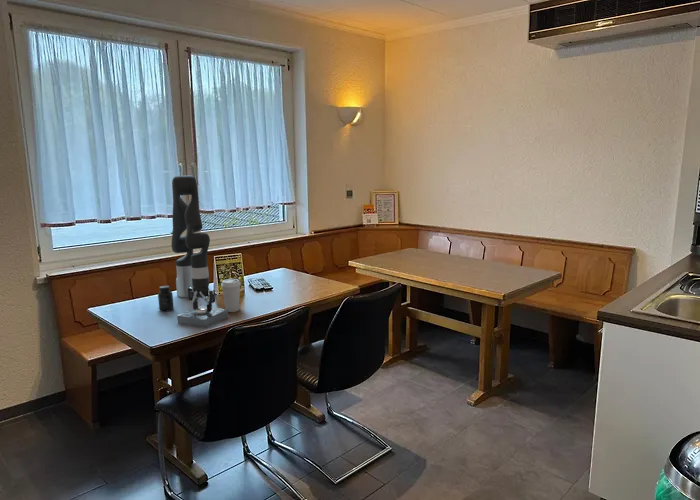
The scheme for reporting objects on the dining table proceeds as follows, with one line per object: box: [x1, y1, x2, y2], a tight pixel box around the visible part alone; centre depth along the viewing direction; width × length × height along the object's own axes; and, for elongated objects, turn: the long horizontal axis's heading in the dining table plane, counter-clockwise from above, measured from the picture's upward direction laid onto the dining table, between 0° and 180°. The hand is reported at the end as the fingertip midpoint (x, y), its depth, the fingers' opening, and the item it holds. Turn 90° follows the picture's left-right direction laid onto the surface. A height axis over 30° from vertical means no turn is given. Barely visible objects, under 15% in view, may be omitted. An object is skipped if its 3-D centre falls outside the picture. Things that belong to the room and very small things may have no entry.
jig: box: [176, 305, 229, 329], centre depth 230 cm, size 16×16×4 cm
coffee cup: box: [220, 278, 242, 313], centre depth 244 cm, size 10×10×15 cm
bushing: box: [196, 307, 209, 314], centre depth 230 cm, size 6×6×5 cm
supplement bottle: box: [157, 285, 175, 313], centre depth 246 cm, size 7×7×12 cm
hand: (202, 310), depth 230 cm, fingers open, 7 cm apart
